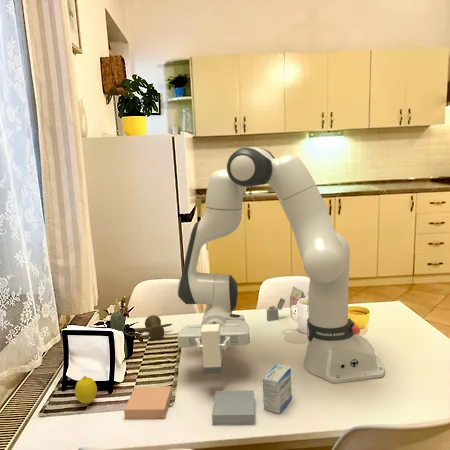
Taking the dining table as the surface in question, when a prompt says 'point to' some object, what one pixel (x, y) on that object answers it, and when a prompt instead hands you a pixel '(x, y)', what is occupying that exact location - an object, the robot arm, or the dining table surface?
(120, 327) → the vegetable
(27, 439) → the dining table surface
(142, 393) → the terracotta stand
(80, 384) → the fruit
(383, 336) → the dining table surface
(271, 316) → the lighter
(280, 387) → the medicine box
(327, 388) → the dining table surface
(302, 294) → the tea bag
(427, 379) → the dining table surface
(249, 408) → the slate stand
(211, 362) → the banded sleeve
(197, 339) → the robot arm
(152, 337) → the kendama
